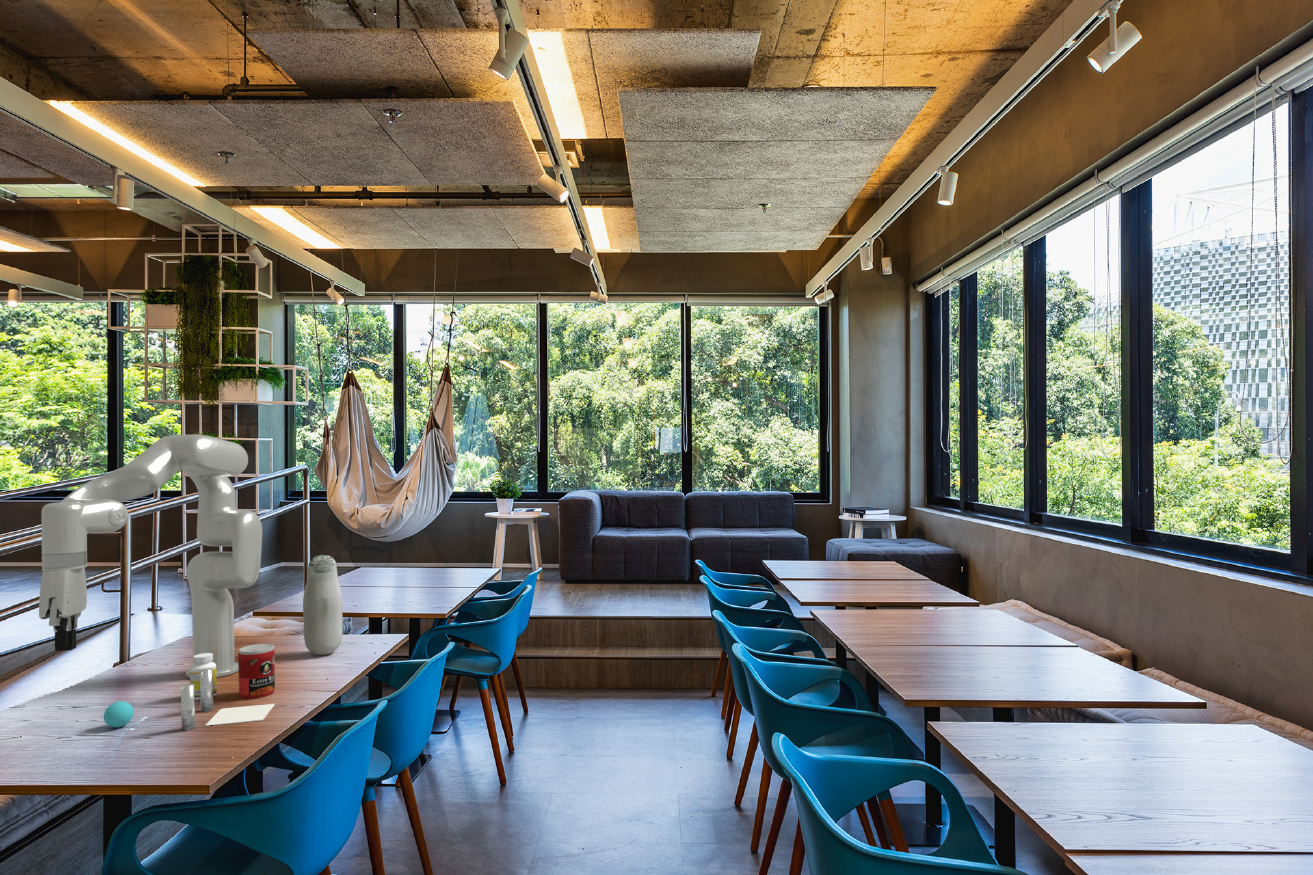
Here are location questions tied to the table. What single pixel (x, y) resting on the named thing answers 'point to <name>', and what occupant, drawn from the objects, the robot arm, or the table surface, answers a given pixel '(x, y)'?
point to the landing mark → (240, 714)
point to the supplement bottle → (199, 663)
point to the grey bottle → (322, 606)
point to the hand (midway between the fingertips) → (65, 649)
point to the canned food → (256, 671)
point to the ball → (118, 714)
